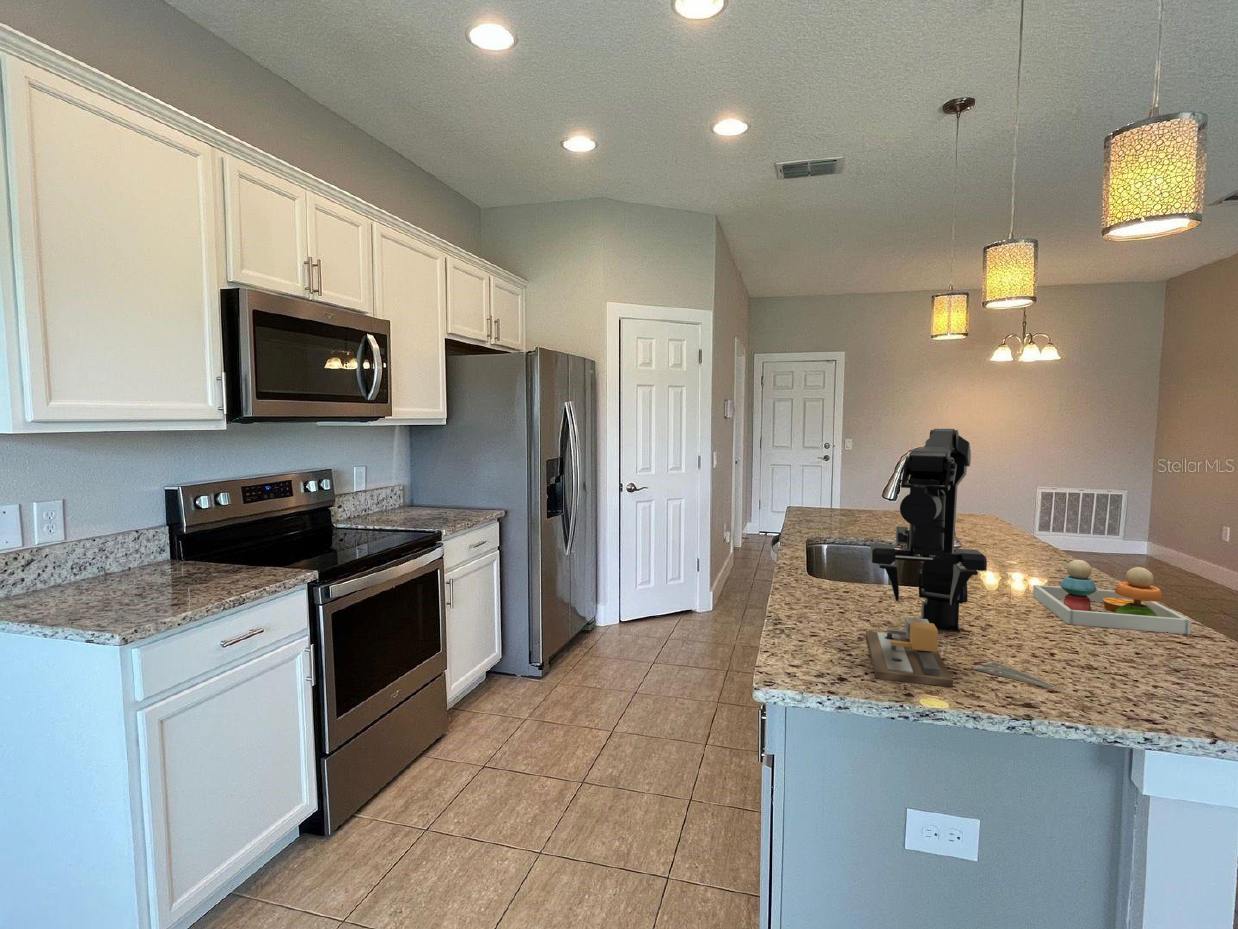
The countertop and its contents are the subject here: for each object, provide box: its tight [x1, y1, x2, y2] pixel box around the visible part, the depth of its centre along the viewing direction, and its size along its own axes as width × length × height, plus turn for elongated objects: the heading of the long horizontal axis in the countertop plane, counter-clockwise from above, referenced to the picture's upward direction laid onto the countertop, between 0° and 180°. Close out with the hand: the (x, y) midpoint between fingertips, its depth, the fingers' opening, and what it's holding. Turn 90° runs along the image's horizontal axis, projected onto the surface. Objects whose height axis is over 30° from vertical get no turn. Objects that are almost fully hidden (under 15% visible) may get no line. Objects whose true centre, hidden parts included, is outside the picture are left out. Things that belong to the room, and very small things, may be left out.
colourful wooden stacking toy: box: [1059, 559, 1163, 617], centre depth 145 cm, size 18×17×12 cm
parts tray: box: [1032, 584, 1192, 635], centre depth 144 cm, size 22×23×3 cm
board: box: [865, 616, 954, 688], centre depth 116 cm, size 12×22×5 cm, turn 162°
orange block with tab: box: [891, 621, 939, 652], centre depth 115 cm, size 8×4×5 cm, turn 72°
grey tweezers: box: [973, 661, 1069, 693], centre depth 106 cm, size 18×5×2 cm, turn 38°
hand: (924, 602), depth 114 cm, fingers open, 9 cm apart
